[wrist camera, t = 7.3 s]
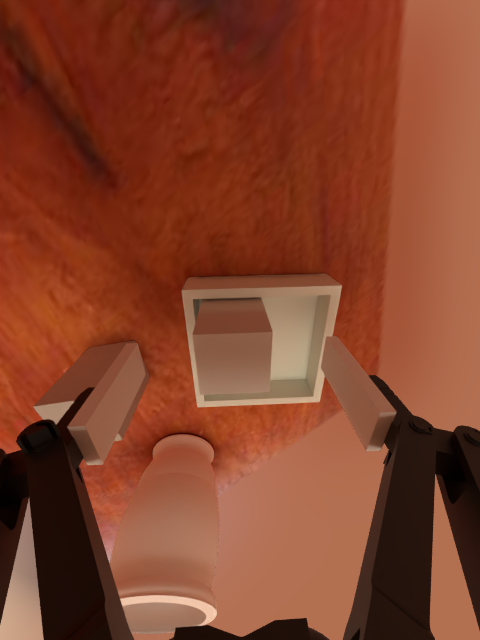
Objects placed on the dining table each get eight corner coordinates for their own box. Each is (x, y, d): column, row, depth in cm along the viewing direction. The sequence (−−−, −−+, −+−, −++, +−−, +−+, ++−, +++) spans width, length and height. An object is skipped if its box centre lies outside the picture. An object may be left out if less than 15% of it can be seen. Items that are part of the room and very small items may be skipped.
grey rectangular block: (89, 347, 25) (33, 406, 18) (134, 340, 25) (96, 397, 18) (108, 382, 27) (65, 447, 20) (150, 376, 27) (122, 439, 20)
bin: (188, 277, 22) (181, 290, 19) (326, 273, 22) (342, 285, 19) (201, 383, 28) (197, 407, 25) (309, 379, 28) (319, 402, 25)
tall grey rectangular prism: (204, 290, 22) (192, 334, 14) (258, 288, 22) (272, 332, 15) (208, 336, 24) (199, 395, 17) (257, 335, 24) (269, 391, 17)
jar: (219, 424, 31) (211, 593, 18) (223, 470, 36) (220, 631, 22) (138, 429, 31) (69, 604, 18) (154, 475, 36) (109, 640, 22)
